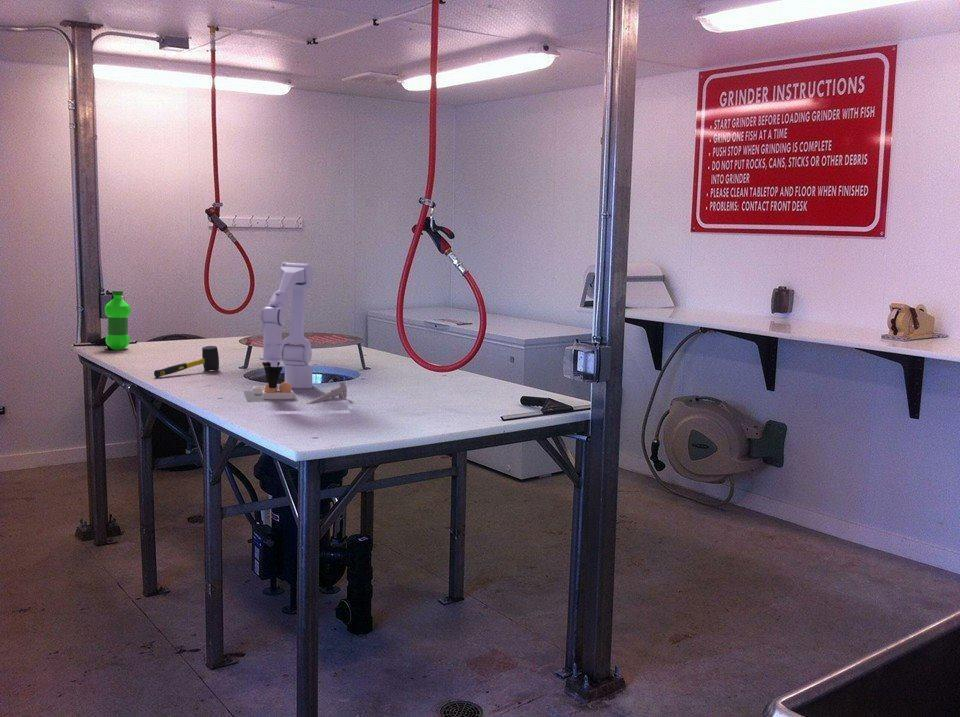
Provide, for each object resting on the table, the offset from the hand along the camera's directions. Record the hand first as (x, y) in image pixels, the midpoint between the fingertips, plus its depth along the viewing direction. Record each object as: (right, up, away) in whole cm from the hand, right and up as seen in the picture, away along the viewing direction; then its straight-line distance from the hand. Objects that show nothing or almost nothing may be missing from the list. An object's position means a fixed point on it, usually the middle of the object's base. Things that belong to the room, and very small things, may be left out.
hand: (271, 385), depth 285 cm
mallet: (-41, +3, +43) cm, 60 cm away
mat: (-1, -4, +3) cm, 6 cm away
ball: (0, -1, 0) cm, 1 cm away
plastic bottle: (-89, +13, +95) cm, 131 cm away
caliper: (+17, -6, +2) cm, 18 cm away
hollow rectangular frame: (+2, -4, +1) cm, 4 cm away
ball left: (+4, -1, +1) cm, 4 cm away
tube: (-6, -3, +7) cm, 9 cm away
